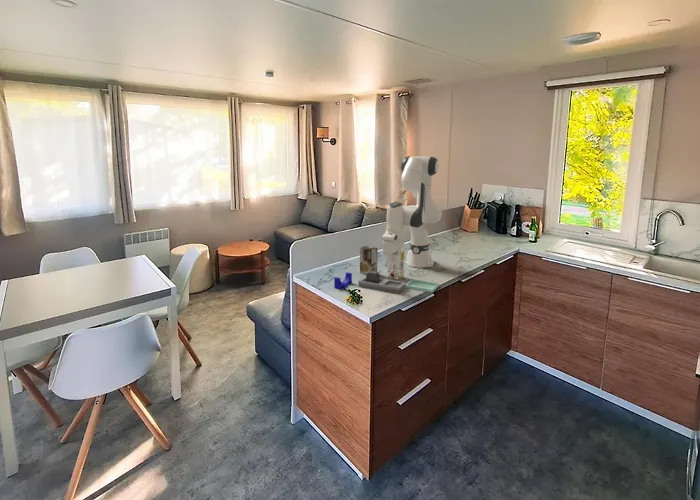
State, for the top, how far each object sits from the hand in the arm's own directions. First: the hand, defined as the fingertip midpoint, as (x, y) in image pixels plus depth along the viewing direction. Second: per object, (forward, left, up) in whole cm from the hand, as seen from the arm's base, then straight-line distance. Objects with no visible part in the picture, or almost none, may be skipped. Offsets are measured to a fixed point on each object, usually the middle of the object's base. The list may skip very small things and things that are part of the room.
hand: (393, 259), depth 204 cm
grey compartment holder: (0, -6, -17) cm, 18 cm away
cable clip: (+8, -26, -17) cm, 32 cm away
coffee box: (-19, -24, -17) cm, 35 cm away
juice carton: (-20, -6, -17) cm, 27 cm away
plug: (0, 0, -2) cm, 2 cm away
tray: (-12, +12, -17) cm, 24 cm away
